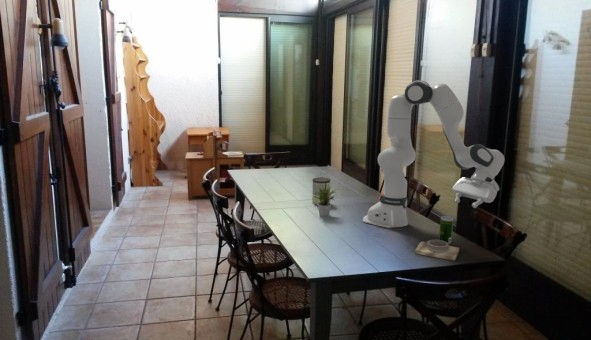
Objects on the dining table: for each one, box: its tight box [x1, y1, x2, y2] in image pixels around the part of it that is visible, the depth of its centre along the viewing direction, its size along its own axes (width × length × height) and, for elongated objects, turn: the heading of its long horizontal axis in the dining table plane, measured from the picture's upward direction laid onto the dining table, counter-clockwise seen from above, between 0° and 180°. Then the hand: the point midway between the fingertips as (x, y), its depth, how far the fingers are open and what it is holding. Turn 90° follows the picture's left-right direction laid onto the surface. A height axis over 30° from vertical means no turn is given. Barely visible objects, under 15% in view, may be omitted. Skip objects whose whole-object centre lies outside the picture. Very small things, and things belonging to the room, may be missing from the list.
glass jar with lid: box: [311, 177, 331, 206], centre depth 269 cm, size 10×10×14 cm
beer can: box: [438, 215, 454, 246], centre depth 208 cm, size 5×5×12 cm
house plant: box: [314, 186, 338, 218], centre depth 245 cm, size 14×14×16 cm
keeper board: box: [414, 239, 460, 261], centre depth 198 cm, size 16×12×4 cm
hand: (464, 204), depth 212 cm, fingers open, 8 cm apart
